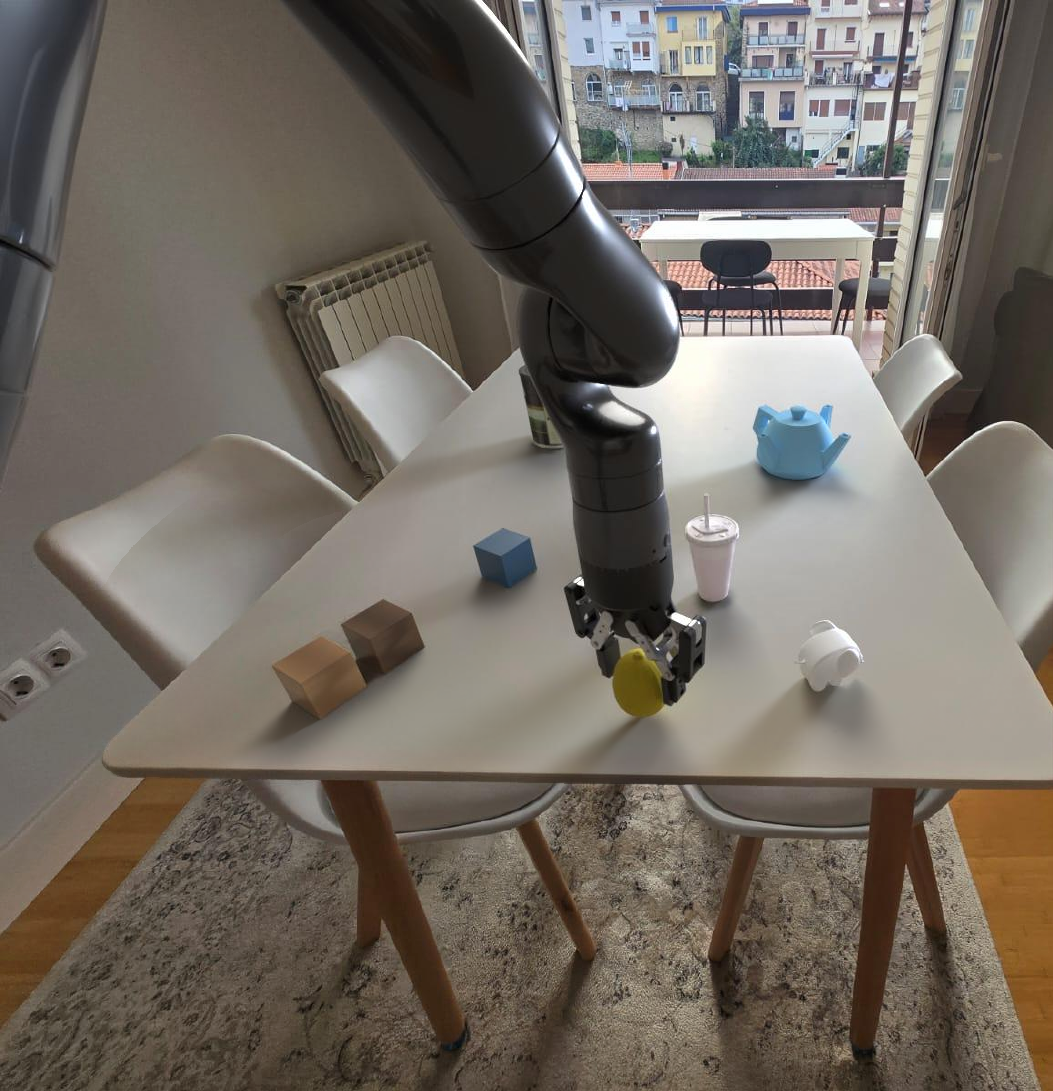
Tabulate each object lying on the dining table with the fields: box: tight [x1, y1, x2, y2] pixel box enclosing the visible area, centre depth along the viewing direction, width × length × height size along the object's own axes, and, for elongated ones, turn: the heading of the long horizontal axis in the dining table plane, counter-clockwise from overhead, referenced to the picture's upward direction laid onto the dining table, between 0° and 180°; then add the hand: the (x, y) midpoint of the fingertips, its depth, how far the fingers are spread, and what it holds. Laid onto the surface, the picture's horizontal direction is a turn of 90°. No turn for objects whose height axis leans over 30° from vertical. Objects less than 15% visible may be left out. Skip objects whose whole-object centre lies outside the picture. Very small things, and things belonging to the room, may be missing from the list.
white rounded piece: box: [793, 619, 865, 692], centre depth 61 cm, size 7×8×6 cm
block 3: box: [472, 527, 538, 589], centre depth 78 cm, size 5×5×5 cm
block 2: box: [340, 598, 426, 675], centre depth 65 cm, size 5×5×5 cm
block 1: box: [270, 635, 368, 720], centre depth 60 cm, size 5×5×5 cm
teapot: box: [752, 404, 852, 481], centre depth 104 cm, size 15×15×11 cm
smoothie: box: [684, 493, 740, 603], centre depth 72 cm, size 6×6×14 cm
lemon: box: [611, 647, 666, 718], centre depth 57 cm, size 6×6×8 cm
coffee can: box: [518, 364, 564, 450], centre depth 114 cm, size 10×10×14 cm
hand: (642, 684), depth 57 cm, fingers open, 6 cm apart
